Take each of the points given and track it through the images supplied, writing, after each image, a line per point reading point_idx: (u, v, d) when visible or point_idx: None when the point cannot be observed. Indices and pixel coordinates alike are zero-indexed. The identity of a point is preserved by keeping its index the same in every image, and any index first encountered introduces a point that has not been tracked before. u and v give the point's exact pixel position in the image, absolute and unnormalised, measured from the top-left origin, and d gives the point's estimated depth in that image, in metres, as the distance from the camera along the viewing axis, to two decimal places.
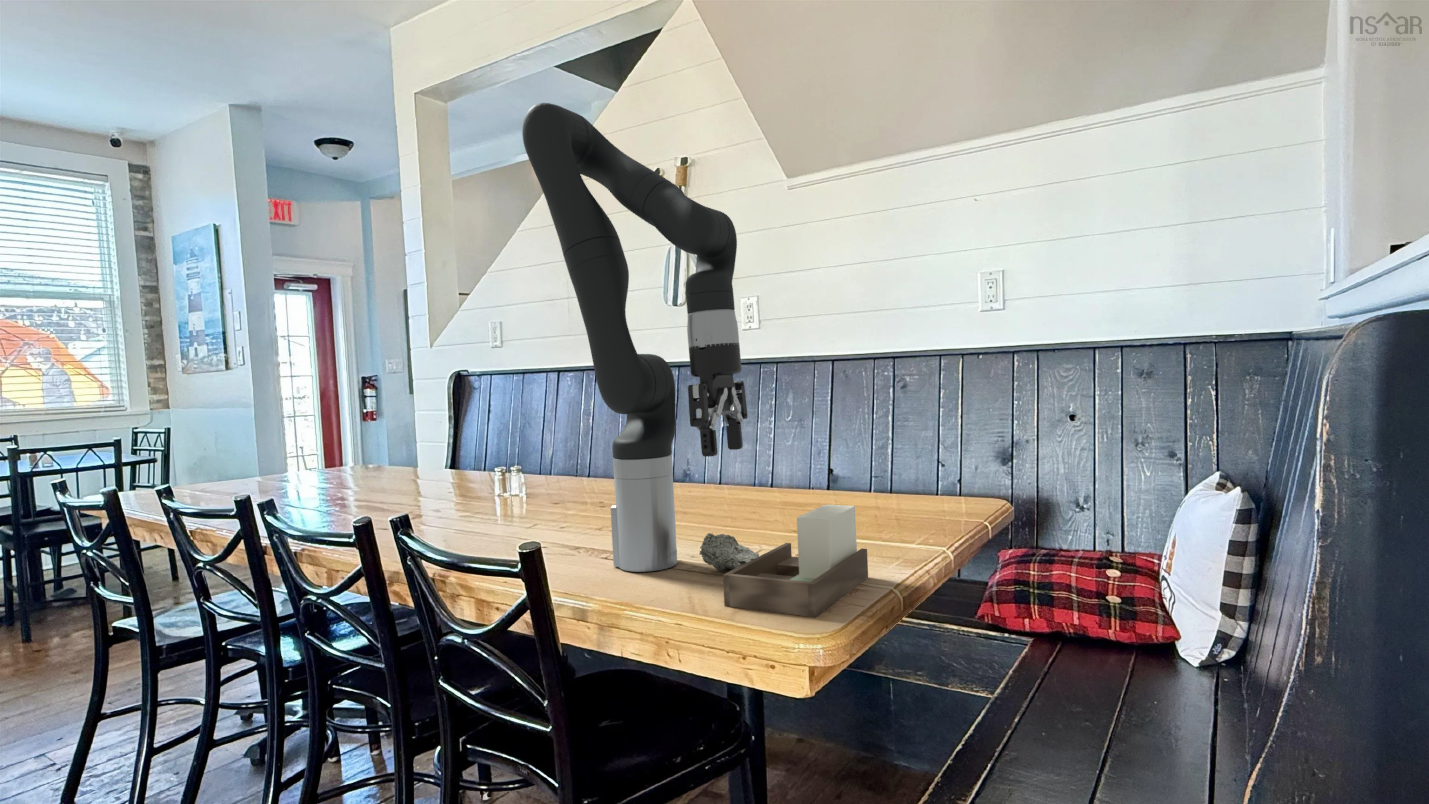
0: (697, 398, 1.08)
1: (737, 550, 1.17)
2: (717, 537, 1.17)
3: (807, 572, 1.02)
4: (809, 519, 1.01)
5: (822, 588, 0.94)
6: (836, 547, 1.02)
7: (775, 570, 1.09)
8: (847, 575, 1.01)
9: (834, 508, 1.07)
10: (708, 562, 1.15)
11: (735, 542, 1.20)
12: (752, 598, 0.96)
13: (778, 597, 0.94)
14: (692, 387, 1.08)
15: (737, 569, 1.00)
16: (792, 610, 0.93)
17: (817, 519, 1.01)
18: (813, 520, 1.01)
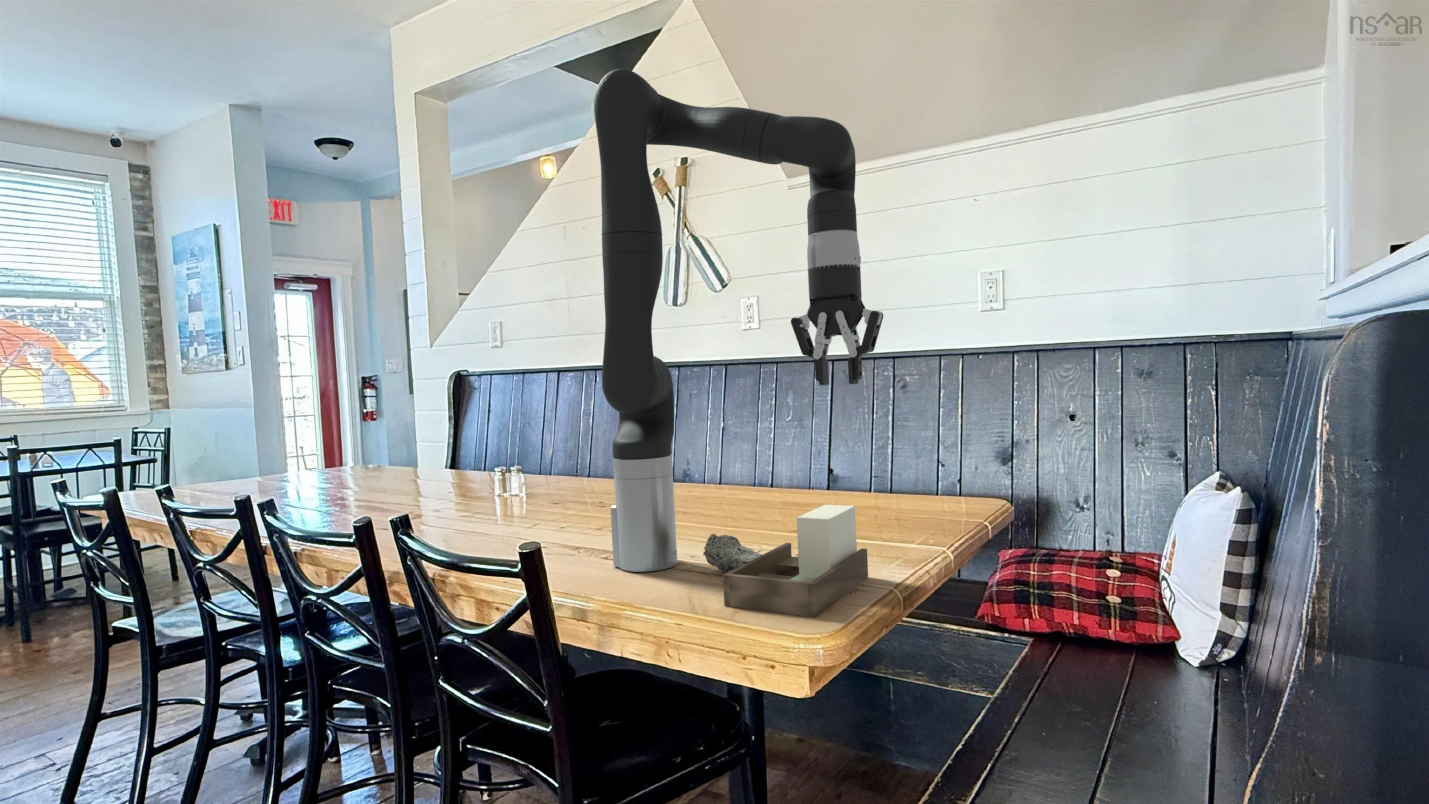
0: None
1: (740, 550, 1.16)
2: (720, 538, 1.16)
3: (807, 572, 1.02)
4: (809, 519, 1.01)
5: (822, 588, 0.94)
6: (836, 547, 1.02)
7: (775, 570, 1.09)
8: (847, 575, 1.01)
9: (834, 508, 1.07)
10: (712, 563, 1.14)
11: (738, 543, 1.19)
12: (752, 598, 0.96)
13: (778, 597, 0.94)
14: (879, 315, 1.08)
15: (737, 569, 1.00)
16: (792, 610, 0.93)
17: (817, 519, 1.01)
18: (813, 520, 1.01)
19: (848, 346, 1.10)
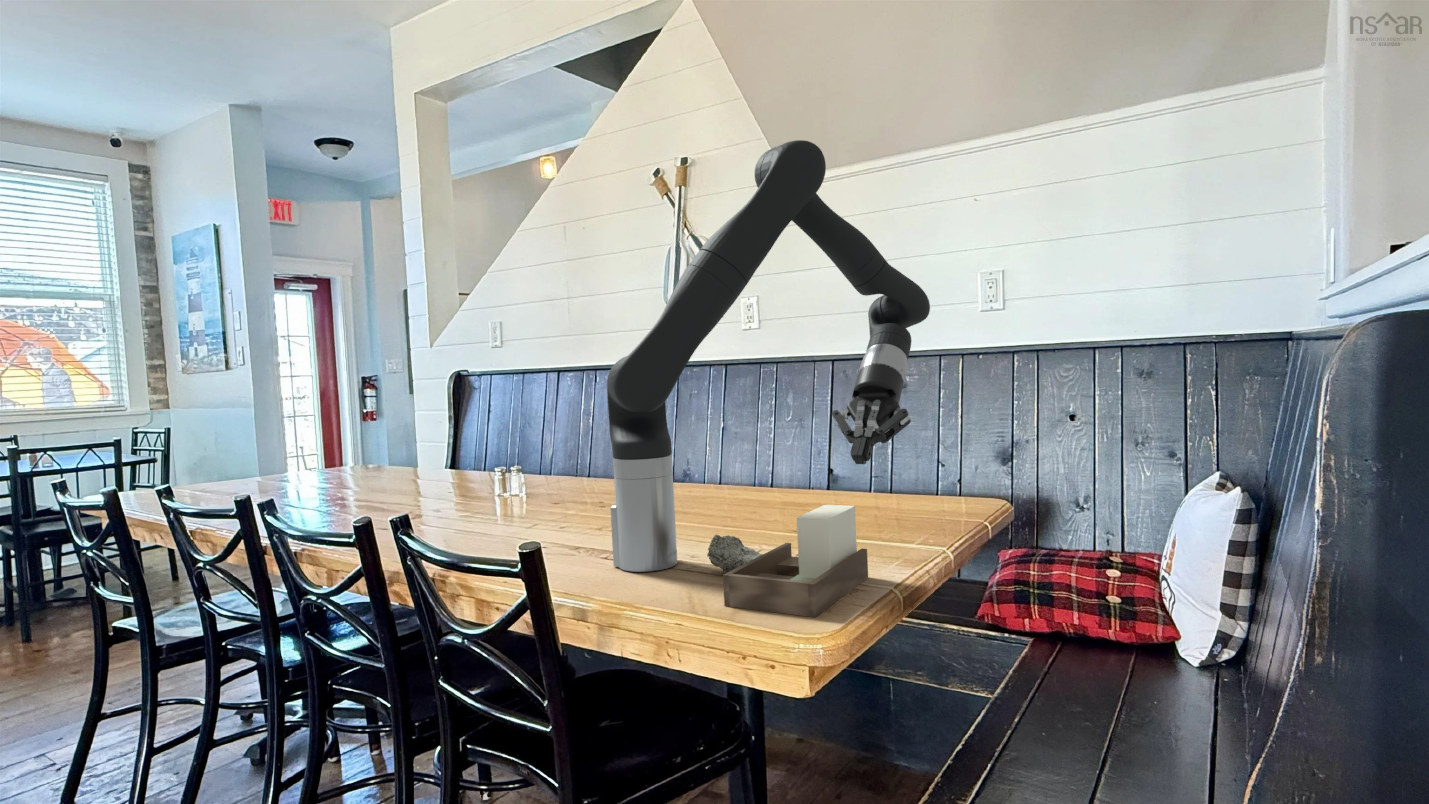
0: (899, 423, 1.19)
1: (743, 551, 1.16)
2: (724, 538, 1.15)
3: (807, 572, 1.02)
4: (809, 519, 1.01)
5: (822, 588, 0.94)
6: (836, 547, 1.02)
7: (775, 570, 1.09)
8: (847, 575, 1.01)
9: (834, 508, 1.07)
10: (715, 564, 1.13)
11: (740, 543, 1.18)
12: (752, 598, 0.96)
13: (778, 597, 0.94)
14: (907, 415, 1.18)
15: (737, 569, 1.00)
16: (792, 610, 0.93)
17: (817, 519, 1.01)
18: (813, 520, 1.01)
19: (868, 428, 1.19)
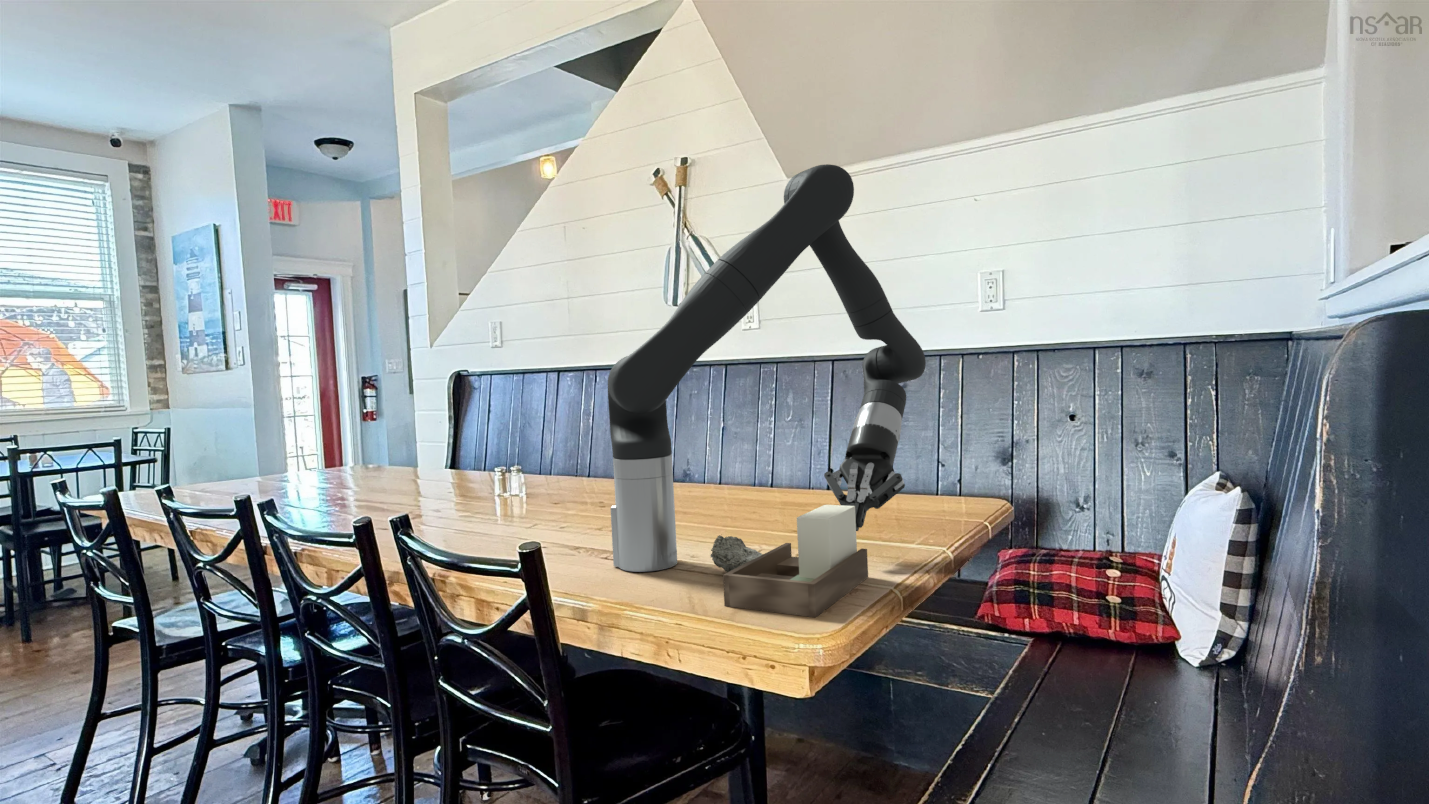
0: (893, 488, 1.16)
1: (746, 552, 1.15)
2: (726, 539, 1.15)
3: (807, 572, 1.02)
4: (809, 519, 1.01)
5: (822, 588, 0.94)
6: (836, 547, 1.02)
7: (775, 570, 1.09)
8: (847, 575, 1.01)
9: (834, 508, 1.07)
10: (719, 565, 1.13)
11: (743, 544, 1.18)
12: (752, 598, 0.96)
13: (778, 597, 0.94)
14: (901, 480, 1.15)
15: (737, 569, 1.00)
16: (792, 610, 0.93)
17: (817, 519, 1.01)
18: (813, 520, 1.01)
19: (860, 492, 1.16)
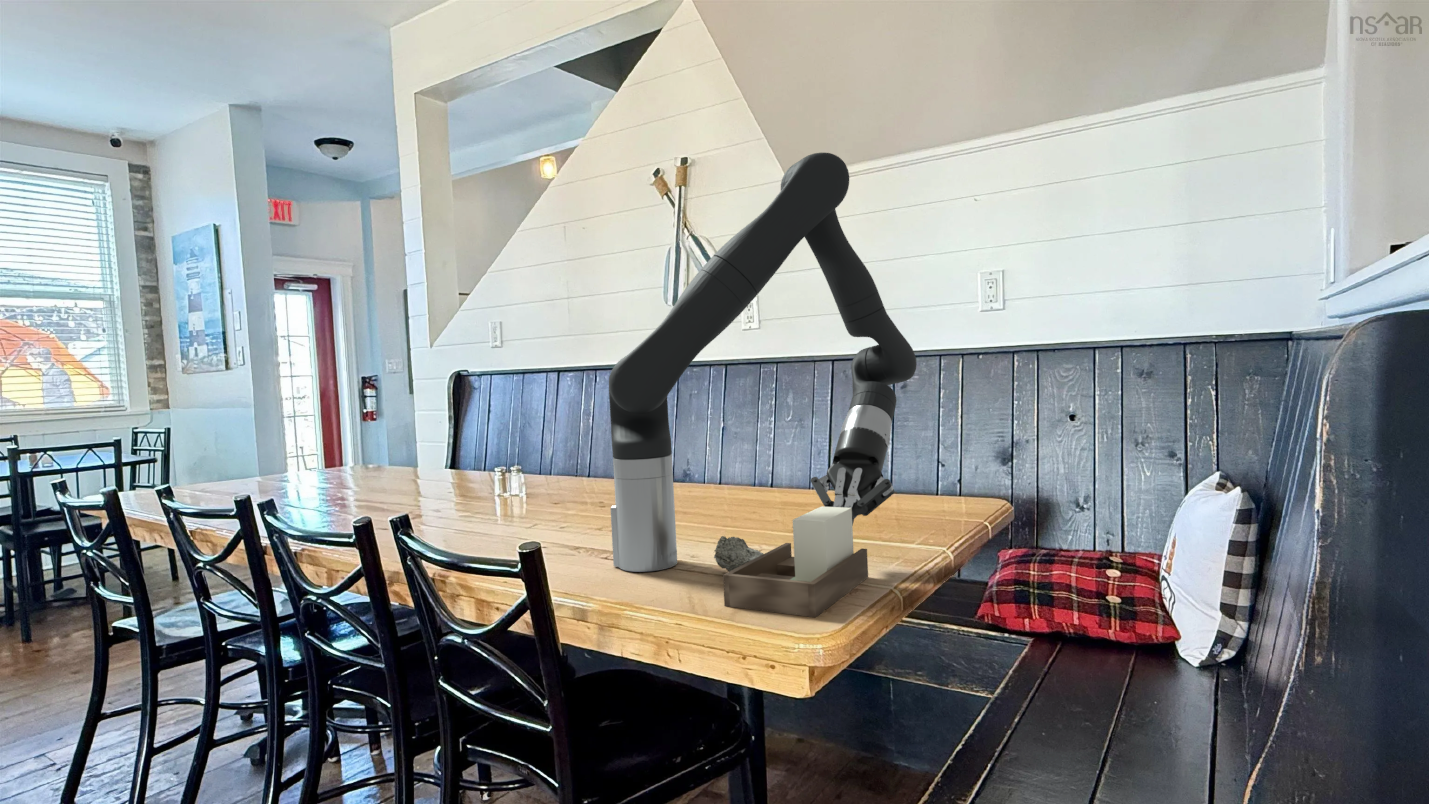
0: (881, 494, 1.11)
1: (749, 552, 1.15)
2: (729, 540, 1.14)
3: (803, 575, 1.01)
4: (805, 521, 1.00)
5: (822, 588, 0.94)
6: (832, 550, 1.01)
7: (775, 570, 1.09)
8: (847, 575, 1.01)
9: (830, 510, 1.06)
10: (722, 566, 1.12)
11: (745, 545, 1.17)
12: (752, 598, 0.96)
13: (778, 597, 0.94)
14: (890, 486, 1.11)
15: (737, 569, 1.00)
16: (792, 610, 0.93)
17: (813, 521, 1.00)
18: (809, 522, 1.00)
19: (848, 499, 1.11)
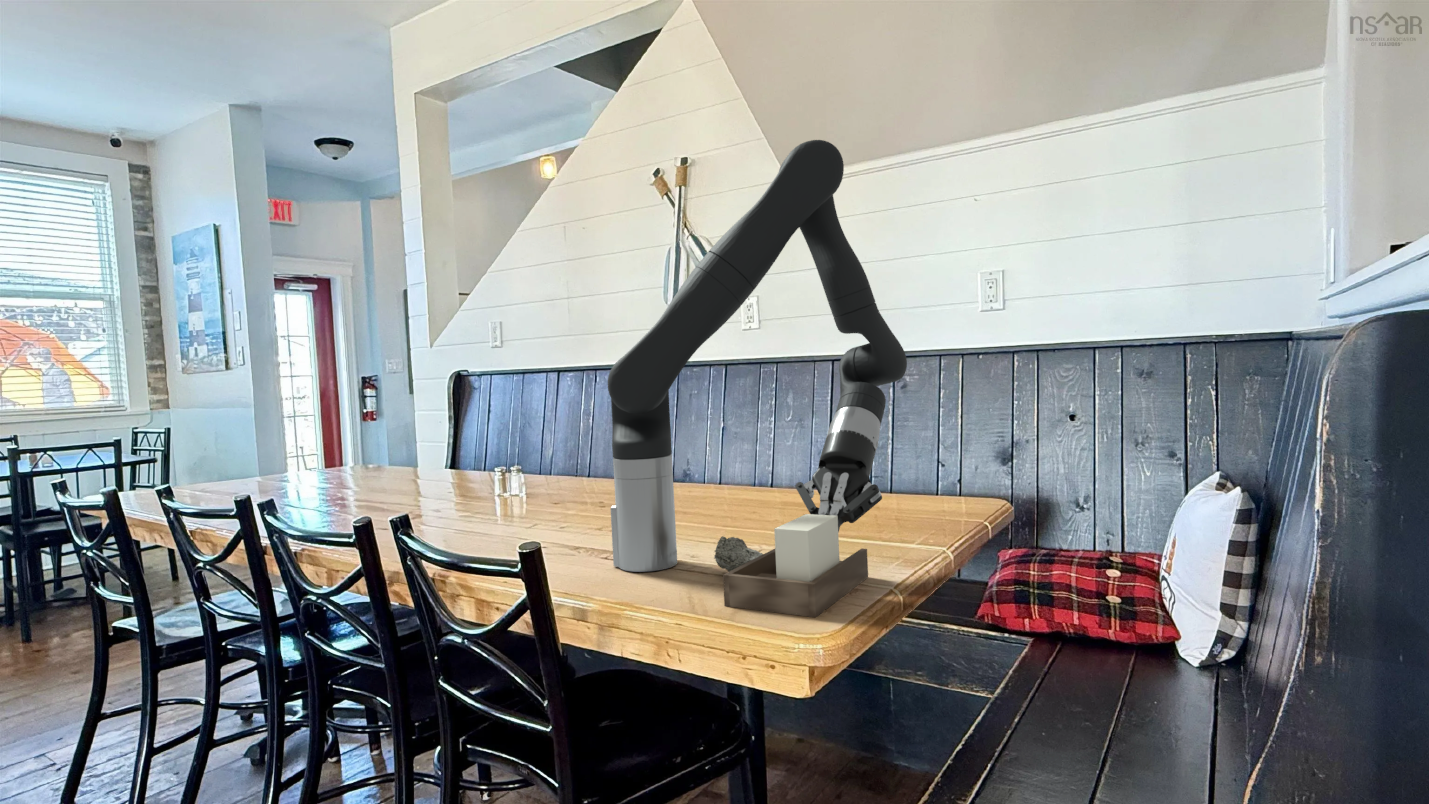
0: (869, 501, 1.06)
1: (749, 552, 1.15)
2: (729, 540, 1.14)
3: None
4: (787, 530, 0.95)
5: (822, 588, 0.94)
6: (816, 560, 0.96)
7: (775, 570, 1.09)
8: (847, 575, 1.01)
9: (815, 518, 1.01)
10: (722, 566, 1.12)
11: (744, 545, 1.17)
12: (752, 598, 0.96)
13: (778, 597, 0.94)
14: (878, 492, 1.06)
15: (737, 569, 1.00)
16: (792, 610, 0.93)
17: (796, 530, 0.94)
18: (792, 532, 0.95)
19: (834, 505, 1.06)
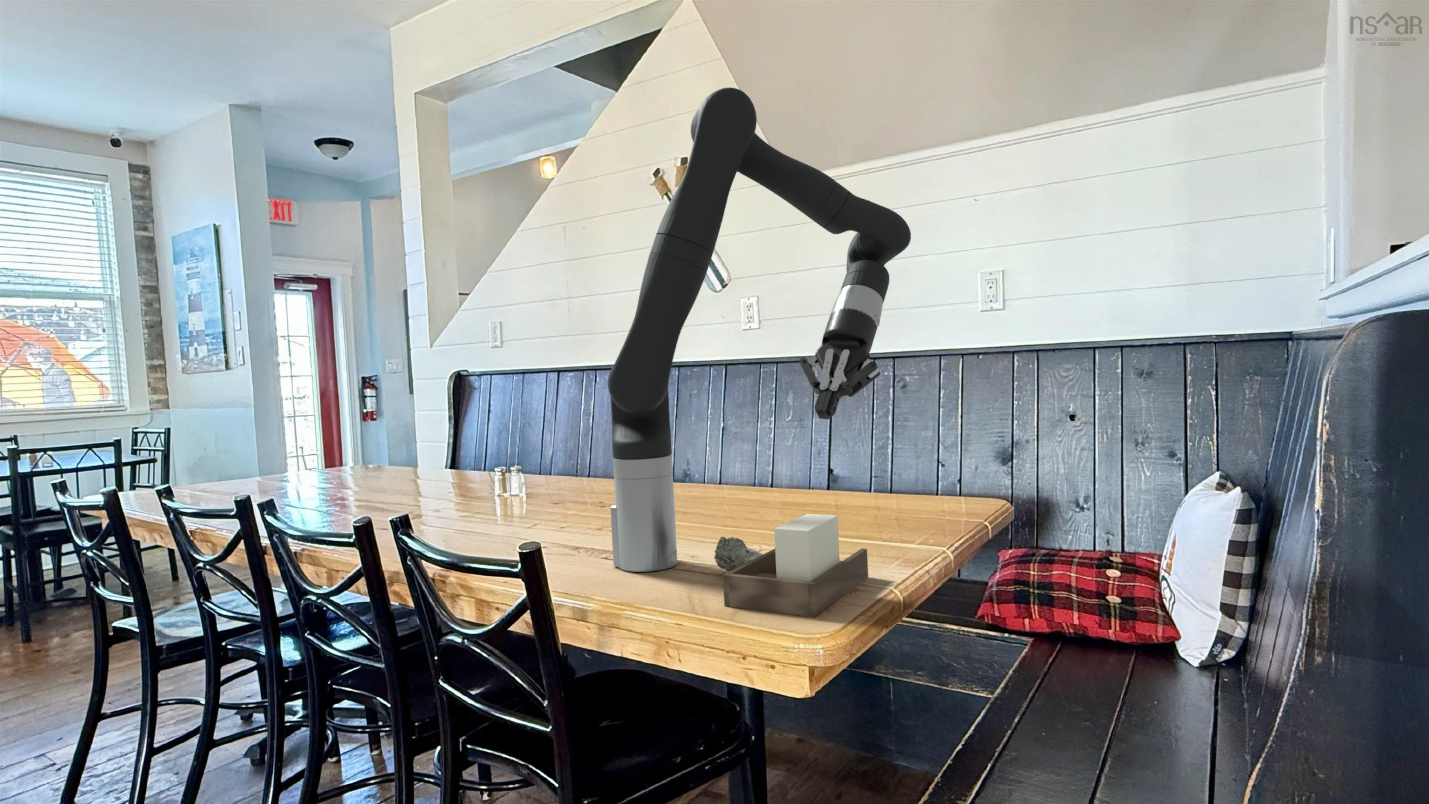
0: (867, 376, 1.13)
1: (748, 553, 1.15)
2: (729, 540, 1.14)
3: None
4: (787, 530, 0.95)
5: (822, 588, 0.94)
6: (816, 560, 0.96)
7: (775, 570, 1.09)
8: (847, 575, 1.01)
9: (815, 518, 1.01)
10: (722, 566, 1.12)
11: (744, 545, 1.17)
12: (752, 598, 0.96)
13: (778, 597, 0.94)
14: (876, 368, 1.12)
15: (737, 569, 1.00)
16: (792, 610, 0.93)
17: (796, 530, 0.94)
18: (792, 532, 0.95)
19: (834, 380, 1.14)
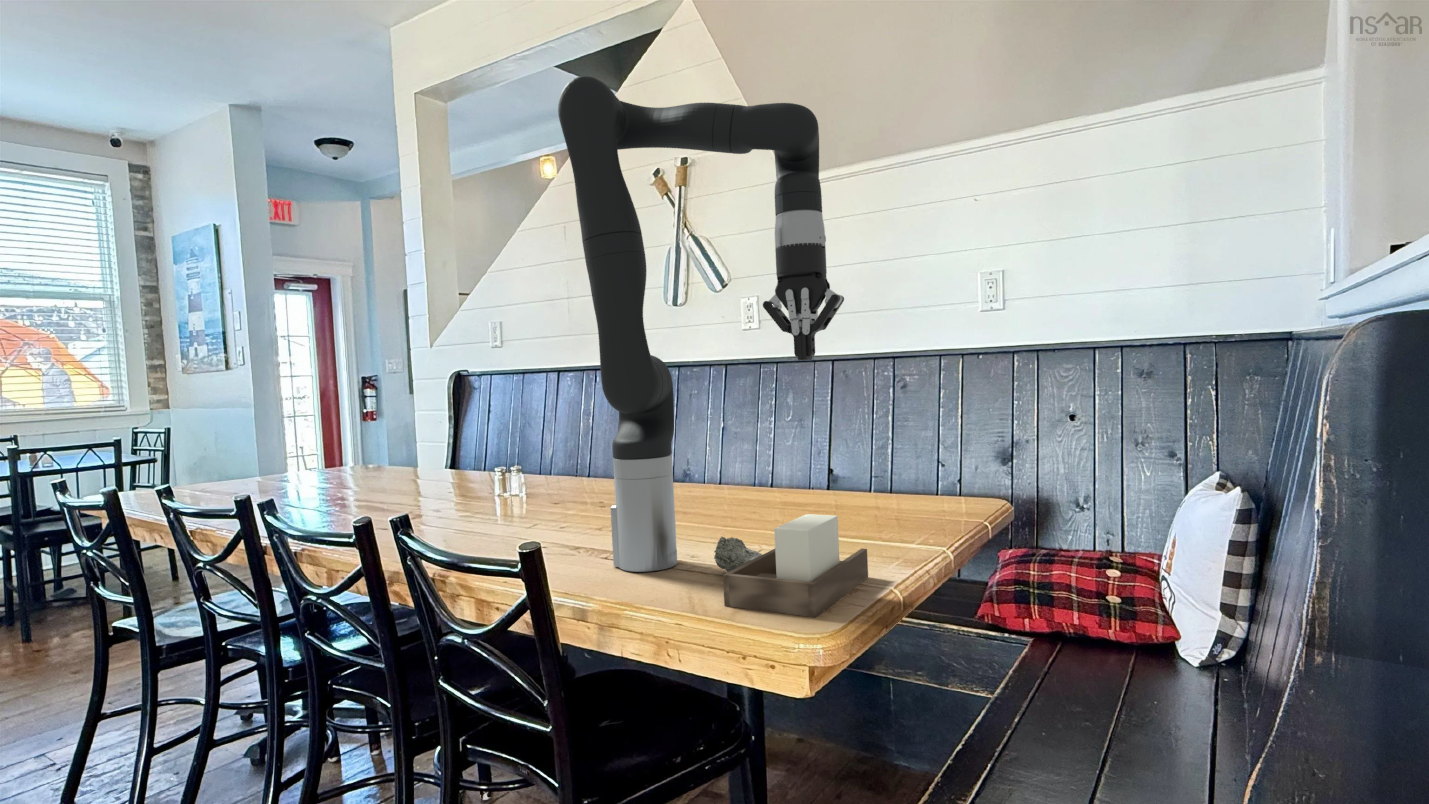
0: (833, 308, 1.14)
1: (748, 553, 1.14)
2: (729, 540, 1.14)
3: None
4: (787, 530, 0.95)
5: (822, 588, 0.94)
6: (816, 560, 0.96)
7: (775, 570, 1.09)
8: (847, 575, 1.01)
9: (815, 518, 1.01)
10: (722, 566, 1.12)
11: (743, 545, 1.17)
12: (752, 598, 0.96)
13: (778, 597, 0.94)
14: (839, 299, 1.13)
15: (737, 569, 1.00)
16: (792, 610, 0.93)
17: (796, 530, 0.94)
18: (792, 532, 0.95)
19: (804, 323, 1.15)
